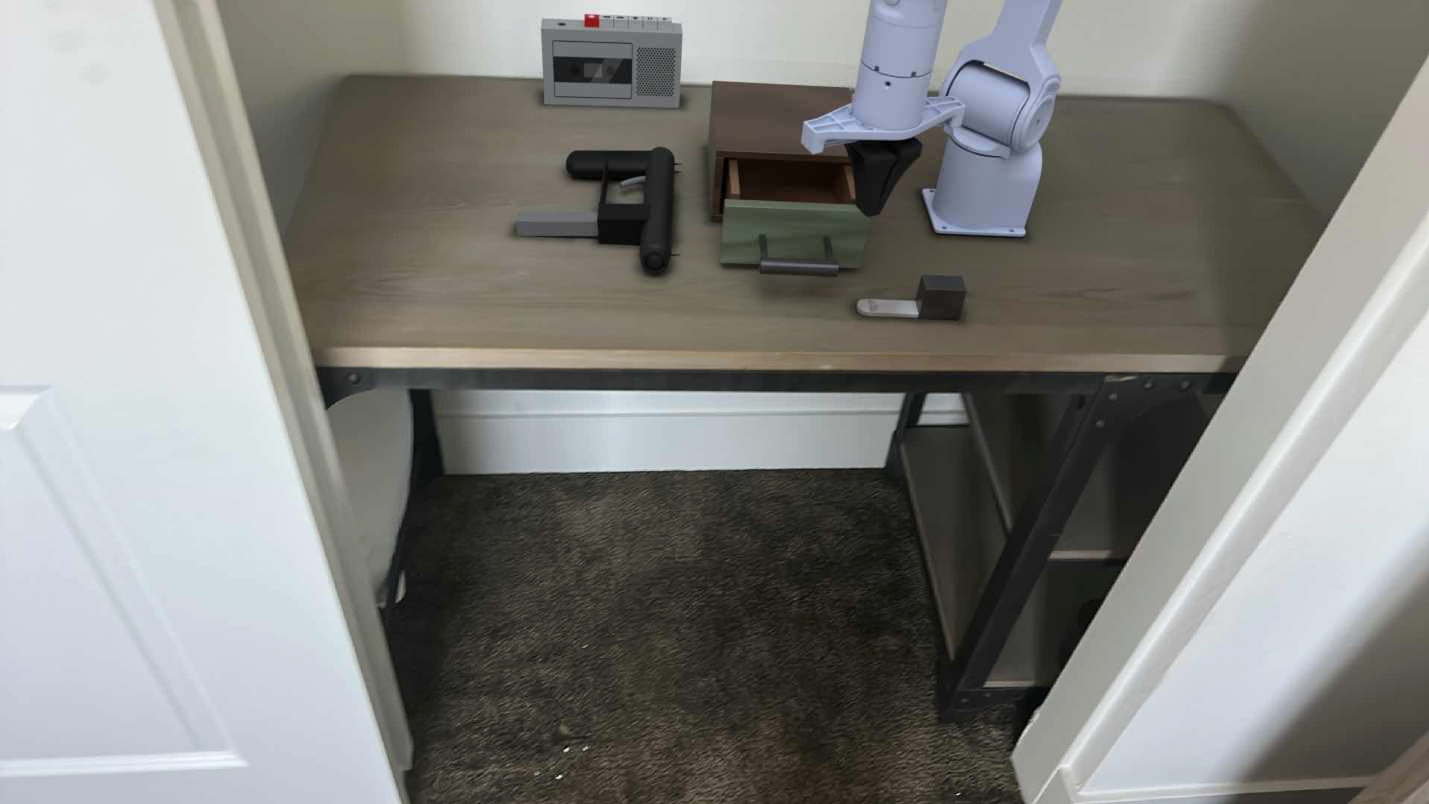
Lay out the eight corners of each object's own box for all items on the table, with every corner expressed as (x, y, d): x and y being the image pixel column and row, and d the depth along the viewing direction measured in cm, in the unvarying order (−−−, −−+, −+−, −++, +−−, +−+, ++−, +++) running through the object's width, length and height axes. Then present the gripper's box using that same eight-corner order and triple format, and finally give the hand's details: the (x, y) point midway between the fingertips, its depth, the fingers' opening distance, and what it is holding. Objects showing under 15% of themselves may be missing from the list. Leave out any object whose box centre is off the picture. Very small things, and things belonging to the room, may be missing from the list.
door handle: (506, 249, 94) (682, 250, 95) (532, 140, 109) (685, 141, 109) (510, 279, 97) (683, 279, 97) (535, 168, 111) (685, 169, 111)
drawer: (867, 303, 95) (879, 245, 90) (721, 297, 94) (727, 239, 90) (843, 192, 108) (852, 138, 104) (715, 187, 108) (720, 132, 103)
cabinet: (853, 227, 105) (867, 156, 100) (710, 221, 104) (716, 149, 99) (837, 154, 116) (848, 87, 110) (707, 148, 115) (712, 80, 110)
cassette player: (544, 104, 120) (540, 19, 113) (545, 93, 122) (541, 9, 115) (679, 107, 122) (683, 24, 115) (677, 97, 123) (681, 14, 117)
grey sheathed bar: (953, 305, 97) (962, 276, 95) (958, 320, 95) (967, 290, 93) (854, 301, 96) (860, 272, 94) (857, 316, 95) (863, 286, 92)
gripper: (943, 29, 86) (911, 173, 96) (791, 52, 81) (773, 201, 90) (994, 66, 82) (955, 212, 91) (837, 92, 77) (812, 244, 86)
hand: (867, 210), depth 90 cm, fingers closed
